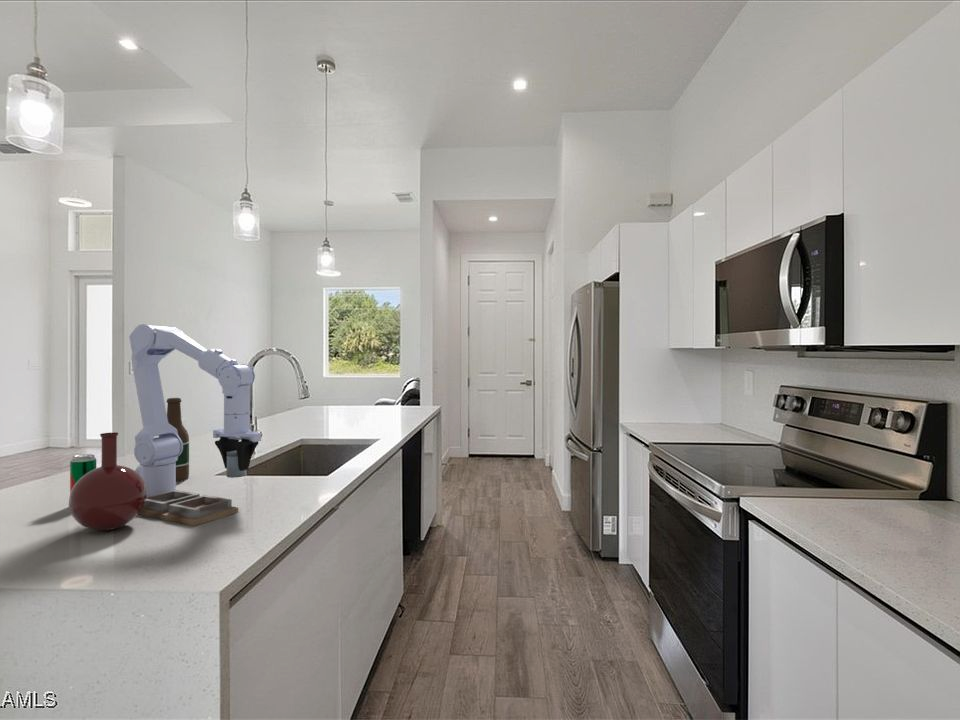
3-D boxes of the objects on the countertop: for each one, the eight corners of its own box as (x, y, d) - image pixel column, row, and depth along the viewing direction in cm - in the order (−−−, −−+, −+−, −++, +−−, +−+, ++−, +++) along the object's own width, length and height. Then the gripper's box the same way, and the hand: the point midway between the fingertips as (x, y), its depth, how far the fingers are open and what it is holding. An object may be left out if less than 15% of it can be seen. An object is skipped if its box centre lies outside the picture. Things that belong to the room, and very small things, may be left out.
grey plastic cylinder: (222, 476, 123) (222, 452, 123) (237, 472, 128) (238, 449, 128) (235, 478, 122) (235, 453, 122) (250, 474, 126) (250, 450, 126)
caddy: (130, 512, 117) (130, 499, 117) (176, 500, 127) (176, 488, 127) (194, 525, 108) (194, 511, 108) (238, 511, 118) (238, 499, 118)
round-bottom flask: (51, 541, 99) (51, 438, 99) (97, 519, 112) (97, 429, 112) (122, 539, 100) (122, 438, 100) (159, 518, 113) (159, 428, 113)
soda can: (81, 509, 120) (81, 458, 120) (64, 507, 121) (64, 457, 121) (101, 503, 125) (101, 454, 125) (84, 501, 126) (84, 453, 126)
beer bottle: (151, 482, 145) (151, 398, 145) (172, 476, 153) (172, 396, 153) (175, 483, 144) (175, 399, 144) (195, 477, 152) (195, 397, 151)
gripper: (201, 413, 124) (201, 469, 124) (244, 417, 118) (243, 475, 118) (227, 411, 130) (226, 463, 130) (268, 414, 124) (268, 469, 124)
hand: (236, 468), depth 125 cm, fingers closed on grey plastic cylinder, 4 cm apart
